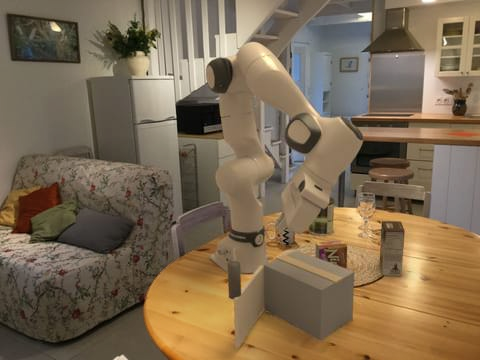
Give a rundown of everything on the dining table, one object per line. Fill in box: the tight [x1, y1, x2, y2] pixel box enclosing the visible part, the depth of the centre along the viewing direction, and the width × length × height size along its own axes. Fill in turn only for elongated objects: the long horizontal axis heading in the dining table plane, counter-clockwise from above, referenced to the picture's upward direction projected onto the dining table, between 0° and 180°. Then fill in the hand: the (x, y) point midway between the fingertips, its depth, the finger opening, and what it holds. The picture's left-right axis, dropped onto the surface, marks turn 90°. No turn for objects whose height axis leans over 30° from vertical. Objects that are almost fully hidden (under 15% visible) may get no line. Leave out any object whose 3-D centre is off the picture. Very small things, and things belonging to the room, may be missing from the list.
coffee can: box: [308, 197, 335, 236], centre depth 177 cm, size 10×10×14 cm
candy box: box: [315, 240, 348, 269], centre depth 129 cm, size 9×4×15 cm, turn 96°
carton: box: [263, 250, 355, 342], centre depth 116 cm, size 20×14×14 cm
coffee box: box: [379, 220, 406, 277], centre depth 140 cm, size 9×6×16 cm
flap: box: [227, 261, 265, 349], centre depth 109 cm, size 19×3×21 cm, turn 158°
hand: (278, 229), depth 101 cm, fingers closed
